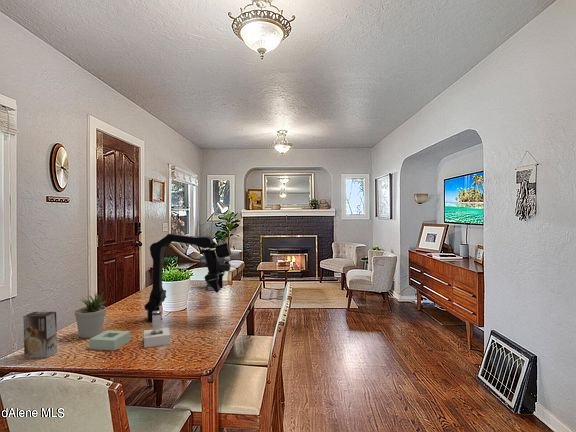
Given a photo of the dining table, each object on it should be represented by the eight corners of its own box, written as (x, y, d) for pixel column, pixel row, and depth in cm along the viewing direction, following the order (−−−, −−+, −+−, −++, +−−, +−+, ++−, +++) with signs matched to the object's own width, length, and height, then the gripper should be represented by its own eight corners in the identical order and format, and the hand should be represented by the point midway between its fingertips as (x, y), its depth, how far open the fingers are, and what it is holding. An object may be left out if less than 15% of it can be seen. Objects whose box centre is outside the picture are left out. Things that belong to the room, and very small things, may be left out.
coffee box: (58, 351, 140) (57, 311, 140) (47, 358, 134) (46, 316, 134) (34, 351, 140) (34, 311, 140) (22, 358, 134) (22, 316, 134)
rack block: (107, 339, 154) (107, 330, 154) (130, 340, 152) (130, 331, 152) (89, 349, 143) (89, 339, 143) (114, 350, 141) (114, 340, 141)
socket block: (144, 339, 153) (144, 330, 153) (168, 336, 157) (168, 327, 157) (144, 347, 144) (144, 338, 144) (170, 344, 148) (170, 334, 148)
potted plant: (71, 342, 150) (71, 295, 149) (76, 332, 162) (76, 289, 162) (105, 338, 155) (104, 292, 154) (107, 329, 167) (107, 286, 167)
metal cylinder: (150, 342, 150) (150, 311, 150) (158, 339, 153) (158, 309, 153) (155, 344, 148) (154, 313, 148) (163, 341, 151) (162, 311, 151)
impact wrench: (230, 291, 246) (230, 255, 246) (198, 291, 246) (198, 255, 246) (232, 288, 254) (232, 253, 254) (201, 288, 254) (201, 253, 254)
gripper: (222, 259, 170) (231, 290, 170) (230, 254, 189) (238, 282, 189) (200, 264, 171) (209, 296, 171) (210, 259, 189) (218, 287, 189)
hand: (219, 290), depth 180 cm, fingers open, 9 cm apart
